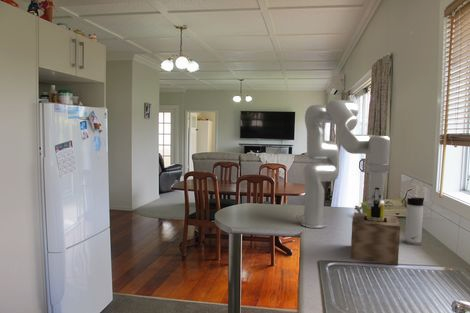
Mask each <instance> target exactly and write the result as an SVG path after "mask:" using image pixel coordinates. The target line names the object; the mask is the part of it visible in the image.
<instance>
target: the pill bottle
mask: <svg viewBox="0 0 470 313" xmlns="http://www.w3.org/2000/svg"><path fill="white" fill-rule="evenodd" d="M380 197H381V196H380ZM372 198H373V197H372ZM372 198H370V199H369V198H368V200H367V201H366V202H367V220H368V221H378V222H384V215H385V204H386V203H385V200H383V199H384V196H383V197H382V199H381V198H380V199H381V200H380V207H381V211H380V218H376V217H371V206H372ZM374 198H375V197H374ZM378 198H379V197H378ZM378 207H379V206H378Z"/></svg>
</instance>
